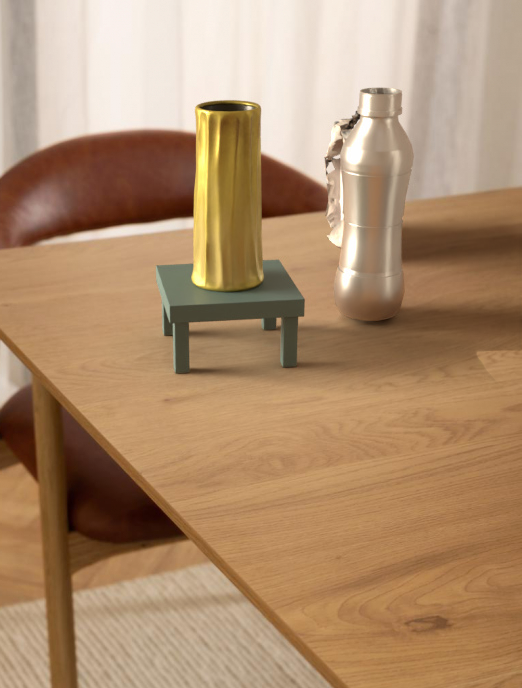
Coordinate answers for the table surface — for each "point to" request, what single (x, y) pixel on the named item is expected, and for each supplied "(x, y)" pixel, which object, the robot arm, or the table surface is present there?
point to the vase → (228, 197)
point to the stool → (229, 307)
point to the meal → (337, 177)
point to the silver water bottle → (373, 209)
